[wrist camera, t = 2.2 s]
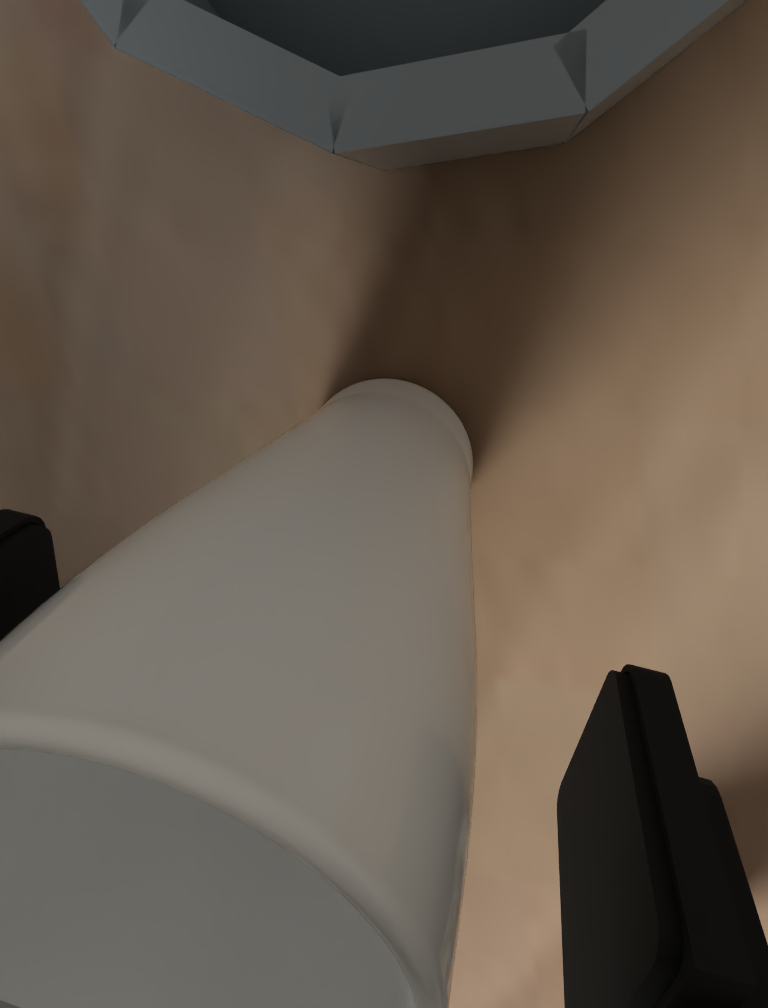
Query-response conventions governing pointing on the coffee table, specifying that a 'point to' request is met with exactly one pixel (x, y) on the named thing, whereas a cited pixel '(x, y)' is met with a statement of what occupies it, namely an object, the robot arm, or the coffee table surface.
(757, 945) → the robot arm
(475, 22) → the bowl
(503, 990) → the coffee table surface
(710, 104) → the coffee table surface
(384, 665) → the drinking glass
